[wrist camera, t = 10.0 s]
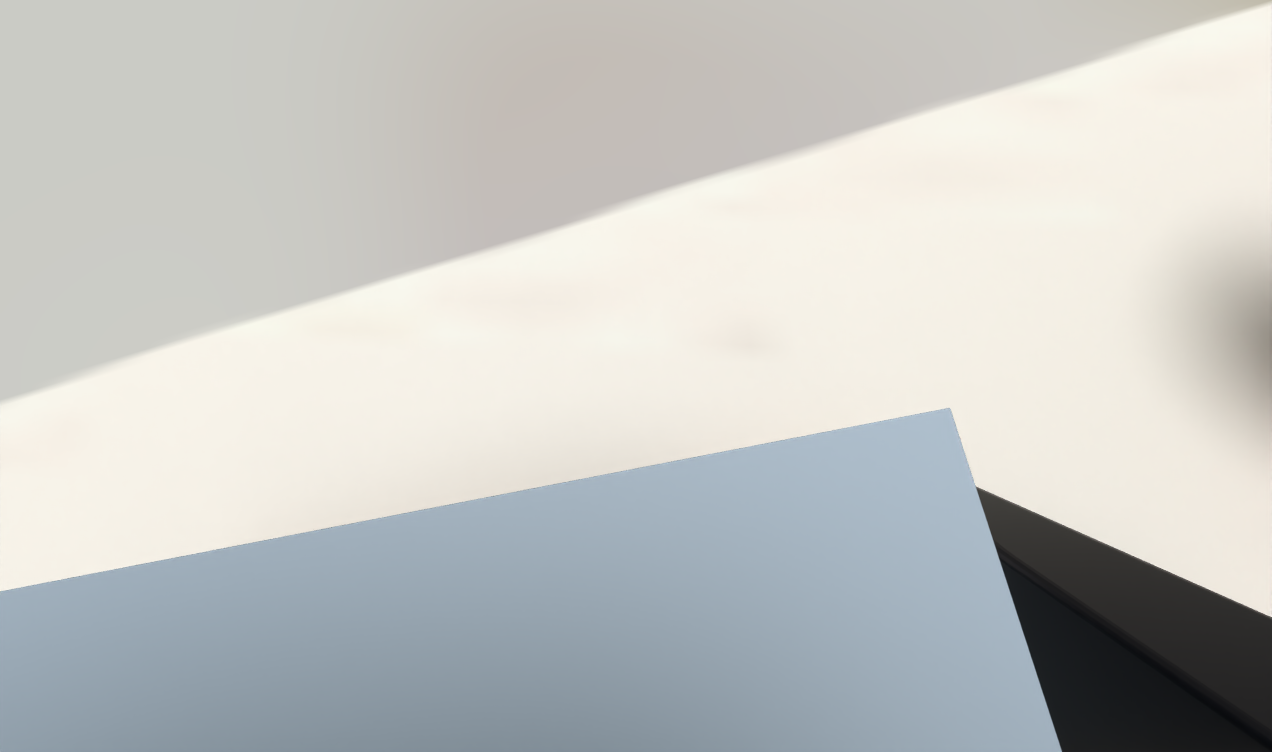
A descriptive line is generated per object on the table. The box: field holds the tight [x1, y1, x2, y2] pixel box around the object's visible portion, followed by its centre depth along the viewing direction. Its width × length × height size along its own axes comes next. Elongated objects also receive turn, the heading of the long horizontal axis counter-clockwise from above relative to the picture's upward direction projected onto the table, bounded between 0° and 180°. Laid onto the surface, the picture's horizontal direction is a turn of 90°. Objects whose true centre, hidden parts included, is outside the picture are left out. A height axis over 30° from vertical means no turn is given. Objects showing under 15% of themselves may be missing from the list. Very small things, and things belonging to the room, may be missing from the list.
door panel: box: [0, 408, 1062, 752], centre depth 9 cm, size 6×3×12 cm, turn 101°
